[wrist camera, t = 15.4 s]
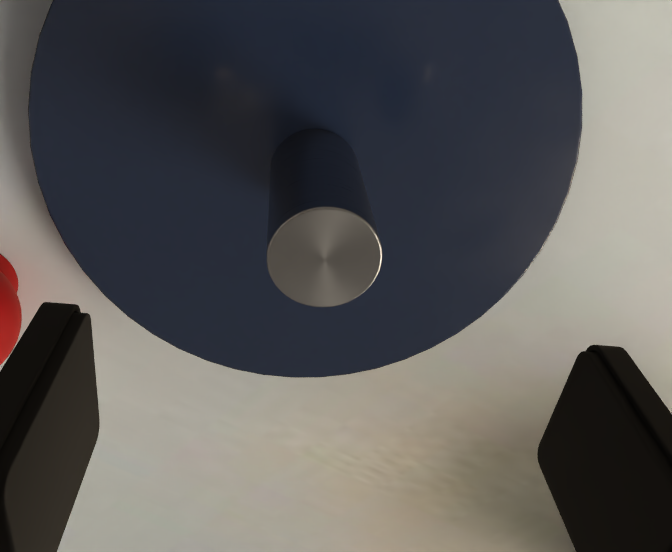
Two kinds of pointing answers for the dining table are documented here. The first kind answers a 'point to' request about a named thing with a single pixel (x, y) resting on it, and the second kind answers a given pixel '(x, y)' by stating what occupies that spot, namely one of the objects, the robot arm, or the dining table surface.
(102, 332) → the dining table surface
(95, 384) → the robot arm
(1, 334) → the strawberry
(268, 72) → the lid
